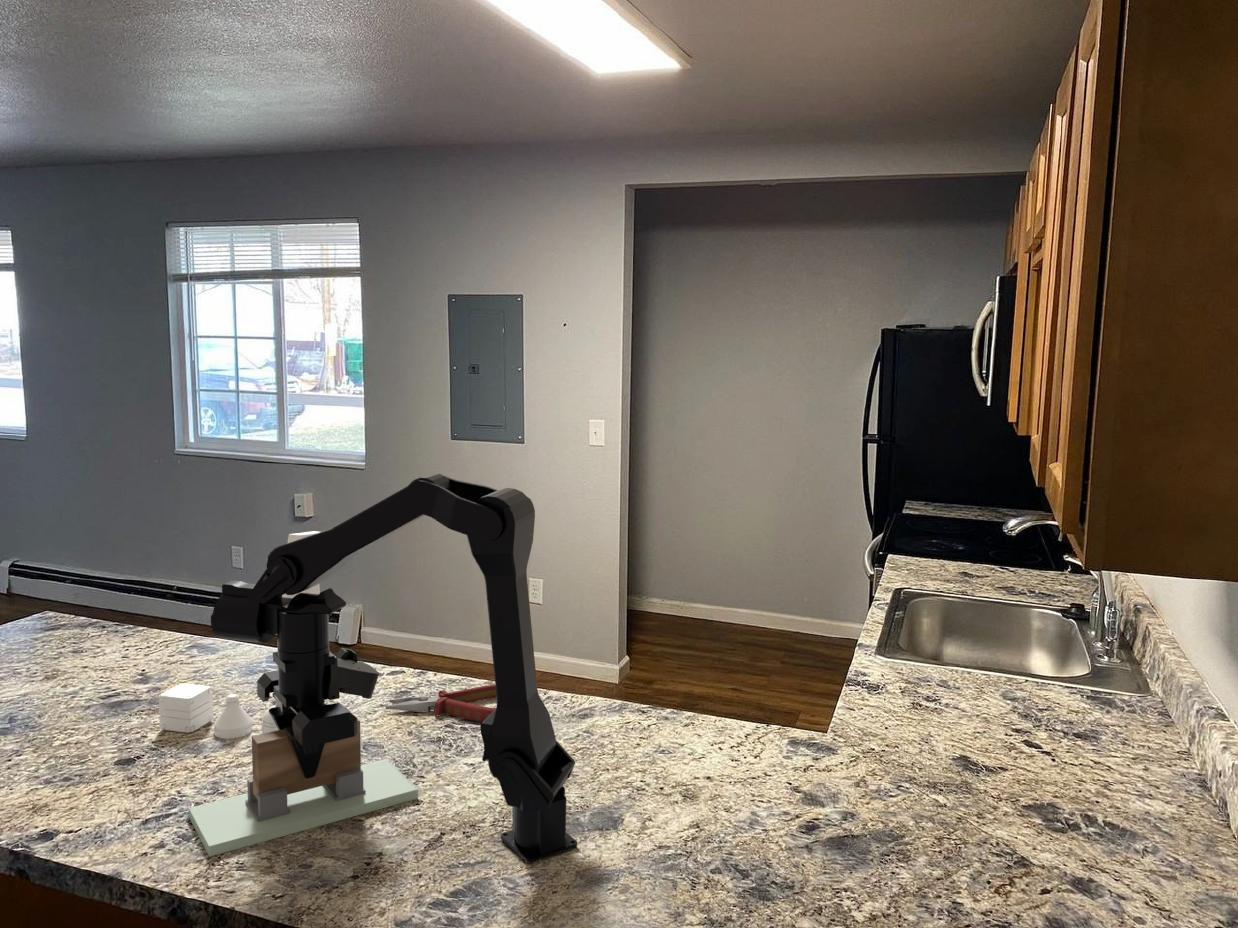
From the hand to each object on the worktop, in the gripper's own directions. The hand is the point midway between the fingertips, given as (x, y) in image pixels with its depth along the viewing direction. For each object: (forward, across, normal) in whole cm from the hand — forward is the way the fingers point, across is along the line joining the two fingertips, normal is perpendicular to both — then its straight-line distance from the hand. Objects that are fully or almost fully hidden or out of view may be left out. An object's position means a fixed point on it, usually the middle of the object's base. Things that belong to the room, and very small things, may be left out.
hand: (306, 772), depth 113 cm
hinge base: (+4, 0, 0) cm, 4 cm away
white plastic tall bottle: (+5, +39, -11) cm, 41 cm away
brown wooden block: (+2, 0, 0) cm, 2 cm away
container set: (+5, +27, +2) cm, 28 cm away
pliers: (+5, +19, -30) cm, 36 cm away
